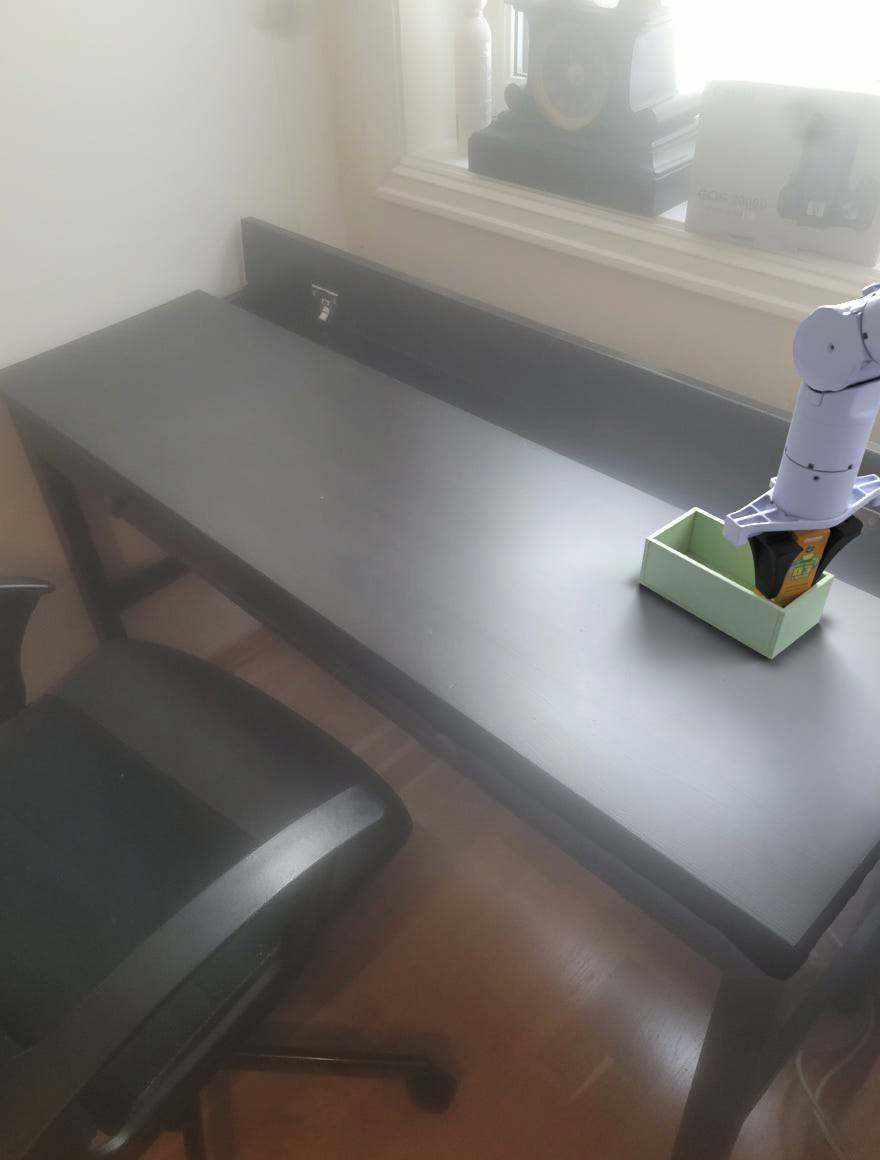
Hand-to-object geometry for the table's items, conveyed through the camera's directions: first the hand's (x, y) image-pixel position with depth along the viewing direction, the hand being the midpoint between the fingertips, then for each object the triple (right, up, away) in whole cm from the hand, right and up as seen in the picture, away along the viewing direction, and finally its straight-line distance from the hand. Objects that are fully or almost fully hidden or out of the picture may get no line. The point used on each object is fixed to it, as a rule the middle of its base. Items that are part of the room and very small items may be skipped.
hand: (783, 586), depth 80 cm
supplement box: (0, -2, +2) cm, 3 cm away
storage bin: (-3, -1, +6) cm, 7 cm away
